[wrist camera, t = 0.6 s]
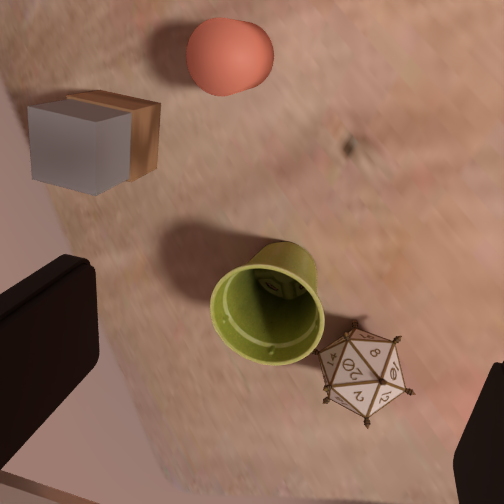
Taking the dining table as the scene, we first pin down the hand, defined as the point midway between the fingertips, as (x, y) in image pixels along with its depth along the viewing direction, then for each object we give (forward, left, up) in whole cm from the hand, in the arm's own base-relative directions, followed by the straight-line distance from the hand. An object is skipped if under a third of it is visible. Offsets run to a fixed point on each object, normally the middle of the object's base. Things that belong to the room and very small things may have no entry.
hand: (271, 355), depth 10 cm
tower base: (+4, -20, -30) cm, 36 cm away
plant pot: (+14, -3, -30) cm, 33 cm away
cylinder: (-4, -10, -30) cm, 32 cm away
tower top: (+4, -20, -25) cm, 32 cm away
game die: (+20, +6, -30) cm, 36 cm away
